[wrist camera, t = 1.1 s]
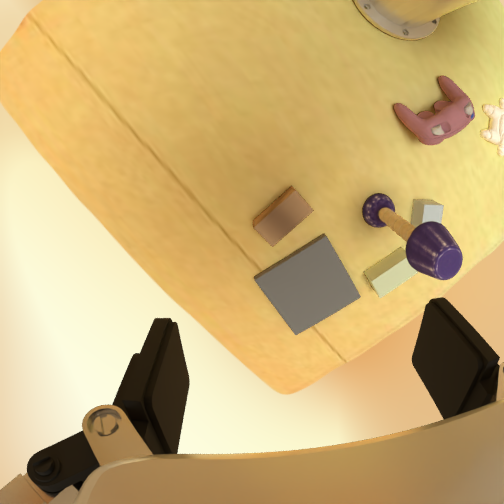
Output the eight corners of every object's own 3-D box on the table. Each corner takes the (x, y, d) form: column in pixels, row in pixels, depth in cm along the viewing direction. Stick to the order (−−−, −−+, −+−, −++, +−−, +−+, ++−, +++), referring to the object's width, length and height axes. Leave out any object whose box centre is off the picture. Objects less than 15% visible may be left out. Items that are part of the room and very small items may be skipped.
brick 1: (291, 185, 36) (295, 190, 33) (308, 204, 36) (313, 210, 34) (252, 220, 37) (253, 227, 34) (270, 238, 38) (272, 247, 35)
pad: (324, 233, 37) (326, 236, 36) (358, 293, 41) (360, 297, 40) (254, 276, 39) (254, 280, 38) (294, 331, 42) (295, 335, 41)
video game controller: (398, 132, 35) (435, 159, 30) (388, 103, 31) (428, 127, 26) (447, 99, 33) (485, 121, 28) (441, 71, 29) (482, 90, 25)
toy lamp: (367, 235, 38) (435, 301, 22) (351, 203, 36) (420, 255, 21) (397, 216, 37) (478, 270, 21) (383, 183, 35) (467, 223, 20)
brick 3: (413, 198, 36) (424, 204, 33) (431, 199, 36) (443, 205, 34) (407, 243, 38) (417, 251, 36) (425, 243, 38) (436, 251, 36)
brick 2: (400, 246, 39) (410, 254, 36) (407, 263, 39) (417, 272, 37) (363, 271, 40) (371, 281, 37) (372, 287, 41) (380, 298, 38)
